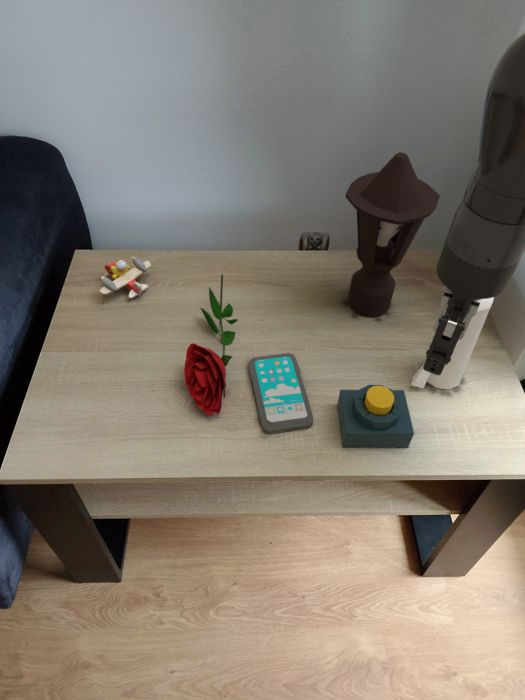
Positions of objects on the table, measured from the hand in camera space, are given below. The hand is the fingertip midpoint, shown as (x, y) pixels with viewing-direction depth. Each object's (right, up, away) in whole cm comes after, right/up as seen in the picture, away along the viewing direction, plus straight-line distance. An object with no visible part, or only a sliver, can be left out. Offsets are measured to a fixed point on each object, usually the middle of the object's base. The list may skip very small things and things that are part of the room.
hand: (440, 347), depth 64 cm
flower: (-31, -1, +26) cm, 40 cm away
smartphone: (-20, -7, +20) cm, 29 cm away
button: (-5, -8, +11) cm, 15 cm away
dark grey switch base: (-5, -12, +15) cm, 20 cm away
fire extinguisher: (+7, -5, +22) cm, 24 cm away
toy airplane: (-49, +12, +36) cm, 62 cm away
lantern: (-2, +9, +34) cm, 36 cm away
